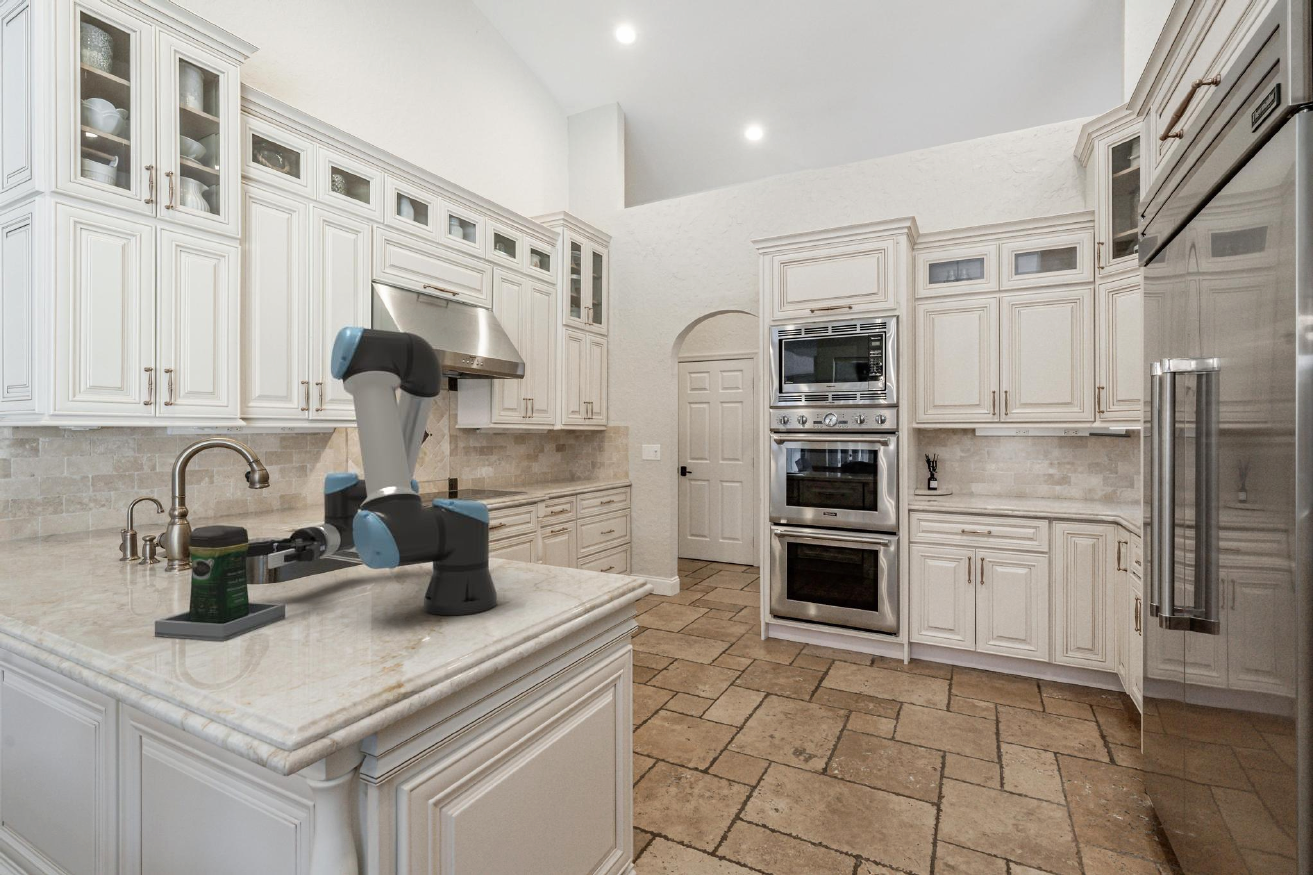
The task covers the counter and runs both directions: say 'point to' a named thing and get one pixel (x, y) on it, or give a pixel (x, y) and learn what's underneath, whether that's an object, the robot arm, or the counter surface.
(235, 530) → the coffee jar
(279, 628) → the counter surface
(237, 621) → the holder
